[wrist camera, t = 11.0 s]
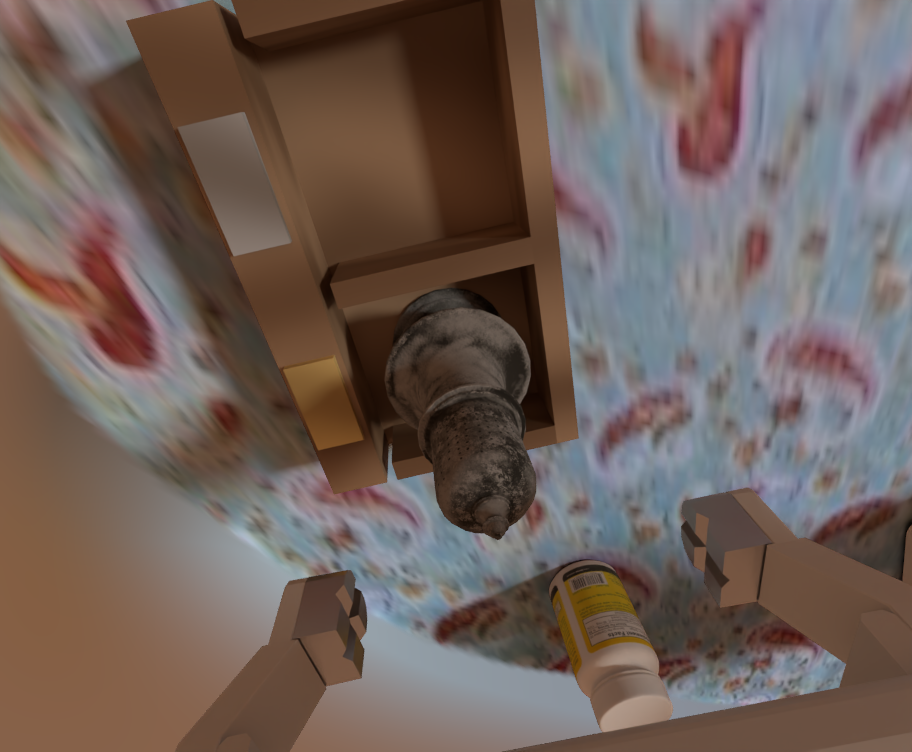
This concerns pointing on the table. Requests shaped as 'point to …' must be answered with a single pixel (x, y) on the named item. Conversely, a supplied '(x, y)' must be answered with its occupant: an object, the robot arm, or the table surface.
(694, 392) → the table surface
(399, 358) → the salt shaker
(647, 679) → the supplement bottle
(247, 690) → the robot arm
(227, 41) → the divided sorting tray
